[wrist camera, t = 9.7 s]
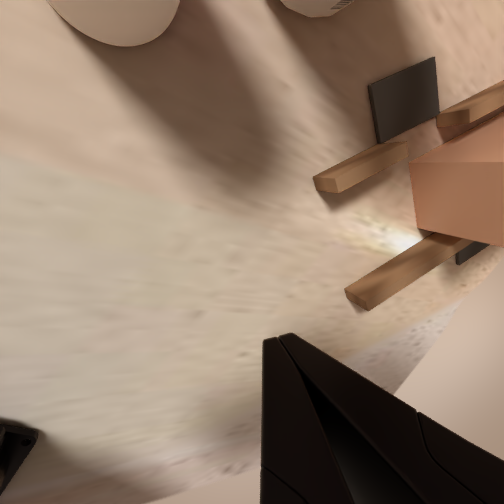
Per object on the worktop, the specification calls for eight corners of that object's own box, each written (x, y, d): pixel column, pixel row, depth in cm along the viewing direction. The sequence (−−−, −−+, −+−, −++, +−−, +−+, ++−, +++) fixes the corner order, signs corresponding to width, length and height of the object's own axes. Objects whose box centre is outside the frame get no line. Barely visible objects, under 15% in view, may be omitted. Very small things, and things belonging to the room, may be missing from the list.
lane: (356, 331, 26) (381, 350, 23) (295, 117, 18) (323, 109, 15) (539, 208, 31) (576, 212, 29) (552, 3, 24) (605, -17, 21)
